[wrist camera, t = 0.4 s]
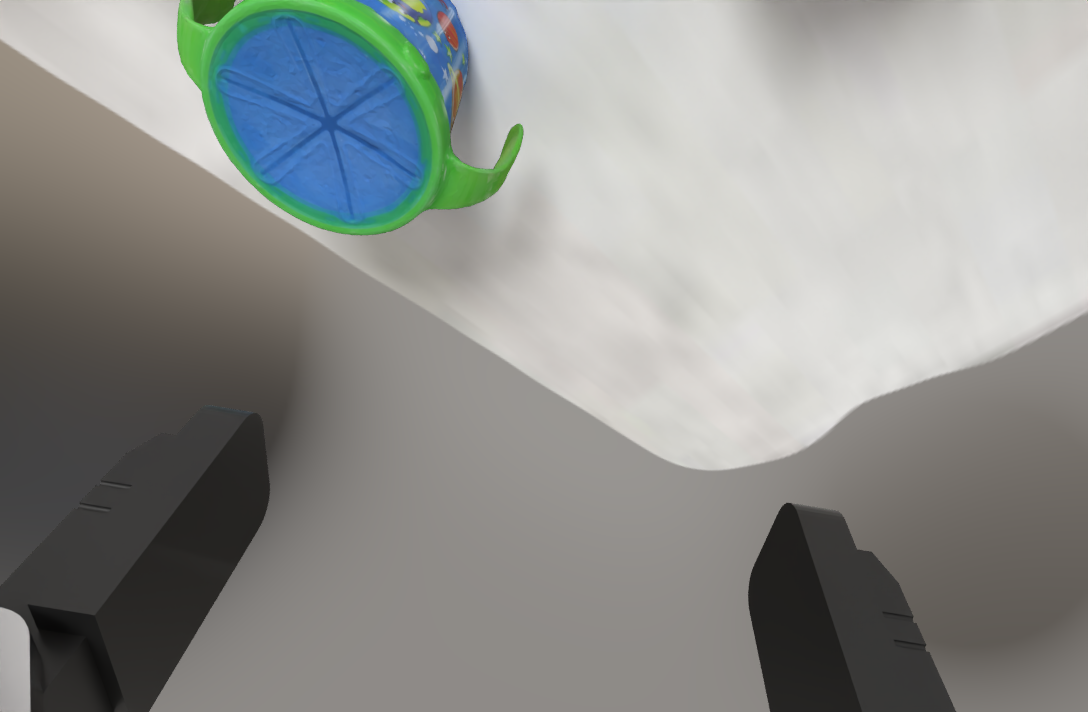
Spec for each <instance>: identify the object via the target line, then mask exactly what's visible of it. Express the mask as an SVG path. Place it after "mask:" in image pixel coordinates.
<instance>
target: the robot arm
mask: <svg viewBox="0 0 1088 712" xmlns="http://www.w3.org/2000/svg"><path fill="white" fill-rule="evenodd" d="M269 494H270V483H269V474H268V465H267V455H266V447H265V438H264V428H263V421H262V419H261V417H260V415H259V414H257V413H253V412H247V411H241V410H236V409H230V408H223V407H218V406H212V405H206V406H203V407H202V408H200V409H199V410H198V411H197V412H196V413H195V414H194V416H193V417H192V418H191V419H190V420H189V421H188V422H187V423H186V425H185V426H184V427H183V428H182V429H181V430H180V431H179V432H178V434H177V435H173V434H167V433H161V434H159V435H157V436H155V437H154V438H152V439H150V440H148V441H147V442H145V443H143V444H142V445H140V446H138V447H136V448H135V449H133V450H131V451H129V452H128V453H126V454H125V455H124V456H123V457H122V458H121V460H119V462H118V463H117V464H116V465H115V466H114V467H113V468H112V469H111V470H110V471H109V472H108V473H107V474H106V475H105V476H104V477H103V478H102V480H101V484H100V485H99V486H95V487H94V488H93V489H92V490H91V491H90V492H89V493H88V494H87V495H86V496H85V498H84V499H83V500H82V501H81V502H80V505H79V508H78V509H75V508H74V509H73V510H72V511H71V512H70V513H69V515H67V516H66V518H65V519H64V520H63V521H62V522H61V523H60V524H59V525H58V526H57V527H56V528H55V529H54V530H53V531H52V532H51V533H50V534H49V536H47V538H46V539H45V540H44V541H43V542H42V543H41V544H40V545H39V546H38V547H37V548H36V549H35V550H34V551H33V552H32V554H30V556H29V557H28V558H27V559H26V560H25V561H24V562H23V563H22V564H21V565H20V566H19V567H18V568H17V569H16V570H15V572H14V573H12V574H11V576H10V577H9V578H8V579H7V580H6V581H5V582H4V583H3V584H2V585H1V586H0V712H149V711H150V709H151V707H152V706H153V704H154V702H155V701H156V699H157V697H158V695H159V694H160V692H161V691H162V689H163V687H164V686H165V684H166V682H167V681H168V679H169V677H170V676H171V674H172V672H173V671H174V669H175V667H176V665H177V664H178V662H179V661H180V659H181V657H182V656H183V654H184V652H185V651H186V649H187V647H188V646H189V644H190V642H191V640H192V639H193V637H194V636H195V634H196V632H197V631H198V629H199V627H200V626H201V624H202V622H203V621H204V619H205V617H206V615H207V614H208V612H209V611H210V609H211V607H212V606H213V604H214V602H215V601H216V599H217V597H218V596H219V594H220V592H221V591H222V589H223V587H224V586H225V584H226V582H227V580H228V579H229V577H230V576H231V574H232V572H233V571H234V569H235V567H236V566H237V564H238V562H239V561H240V559H241V557H242V556H243V554H244V552H245V551H246V549H247V547H248V546H249V544H250V542H251V541H252V539H253V537H254V536H255V534H256V532H257V531H258V529H259V527H260V525H261V523H262V521H263V519H264V516H265V513H266V510H267V506H268V501H269ZM748 601H749V610H750V616H751V621H752V626H753V630H754V635H755V640H756V645H757V650H758V654H759V660H760V664H761V669H762V674H763V678H764V684H765V689H766V693H767V698H768V703H769V708H770V712H956V711H955V709H954V707H953V704H952V702H951V699H950V697H949V695H948V693H947V690H946V688H945V686H944V684H943V682H942V679H941V677H940V675H939V673H938V670H937V668H936V666H935V664H934V662H933V659H932V657H931V655H930V652H926V650H925V646H926V644H925V641H924V639H923V637H922V635H921V633H920V630H919V628H918V626H917V624H916V623H913V615H912V612H911V610H910V608H909V606H908V603H907V601H906V599H905V597H904V594H903V592H902V590H901V588H900V585H899V583H898V582H897V581H896V580H895V579H894V577H893V576H892V575H891V574H890V573H889V572H888V570H887V569H886V568H885V567H884V566H883V565H882V563H881V562H880V561H879V560H878V559H877V558H876V556H875V555H874V554H873V553H872V552H869V551H863V550H857V548H856V546H855V544H854V541H853V538H852V536H851V534H850V531H849V529H848V526H847V524H846V521H845V519H844V517H843V516H842V514H841V513H840V512H838V511H835V510H829V509H823V508H817V507H811V506H805V505H799V504H793V503H786V504H784V505H783V506H782V507H781V509H780V511H779V513H778V515H777V517H776V519H775V521H774V523H773V525H772V528H771V530H770V532H769V534H768V536H767V538H766V541H765V543H764V545H763V547H762V549H761V552H760V554H759V556H758V558H757V560H756V562H755V564H754V567H753V569H752V573H751V577H750V582H749V591H748Z"/></svg>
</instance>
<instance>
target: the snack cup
mask: <svg viewBox="0 0 1088 712" xmlns="http://www.w3.org/2000/svg"><path fill="white" fill-rule="evenodd" d="M234 2H235V0H180V3H179V10H178V22H177V42H178V50H179V55H180V58H181V63H182V65H183V66H184V68H185V70H186V72H187V74H188V75H189V77H190V78H191V79H192V80H193V81H194V83H195V84H196V85H197V86H198V88H199V89H200V90H201V92H202V98H203V102H204V105H205V110H206V113H207V117H208V120H209V121H210V124H211V126H212V129H213V131H214V133H215V135H216V137H217V139H218V141H219V143H220V145H221V147H222V148H223V150H224V151H225V153H226V154H227V156H228V157H229V159H230V160H231V162H232V163H233V164H234V165H235V166H236V168H237V169H238V170H239V171H240V172H241V174H242V175H243V176H244V177H245V178H246V179H247V180H248V181H249V182H250V183H251V184H252V185H253V186H254V187H255V188H256V189H257V190H258V191H259V192H260V193H261V194H262V195H263V196H265V197H266V198H267V199H268V200H269V201H271V202H272V203H274V204H275V205H276V206H278V207H279V208H281V209H282V210H284V211H286V212H287V213H289V214H291V215H292V216H294V217H296V218H298V219H300V220H302V221H304V222H306V223H309V224H311V225H313V226H316V227H318V228H321V229H325V230H328V231H332V232H336V233H341V234H349V235H375V234H381V233H386V232H390V231H393V230H395V229H398V228H400V227H402V226H404V225H405V224H407V223H409V222H410V221H412V220H413V219H414V218H415V217H417V216H418V215H419V214H420V213H422V212H423V211H426V210H428V209H458V208H463V207H469V206H472V205H475V204H477V203H480V202H482V201H484V200H486V199H488V198H489V197H491V196H492V195H493V194H495V193H496V192H497V191H498V190H499V188H500V187H501V186H502V184H503V183H504V181H505V179H506V176H507V174H508V172H509V170H510V168H511V167H512V165H513V163H514V161H515V159H516V157H517V154H518V152H519V150H520V147H521V143H522V139H523V127H522V125H521V124H516V125H515V126H514V127H512V128H511V130H510V132H509V134H508V136H507V139H506V141H505V144H504V147H503V149H502V153H501V156H500V158H499V160H498V162H497V163H496V165H495V167H494V169H480V168H474V167H471V166H469V165H467V164H464V163H462V162H461V161H460V160H459V159H458V158H457V157H456V156H455V155H454V153H453V150H452V147H451V139H450V133H451V130H452V127H453V124H454V120H455V117H456V114H457V110H458V107H459V104H460V101H461V96H462V91H463V88H464V85H465V83H466V78H467V73H468V45H467V39H466V34H465V32H464V29H463V27H462V24H461V22H460V20H459V18H458V16H457V10H456V7H455V6H454V5H453V4H452V2H451V1H450V0H244V1H242V2H241V3H239V4H238V5H237V6H235V7H234V8H233V6H234ZM216 22H218V23H217V25H216V26H215V27H208V26H204V25H205V24H211V23H216Z"/></svg>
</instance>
